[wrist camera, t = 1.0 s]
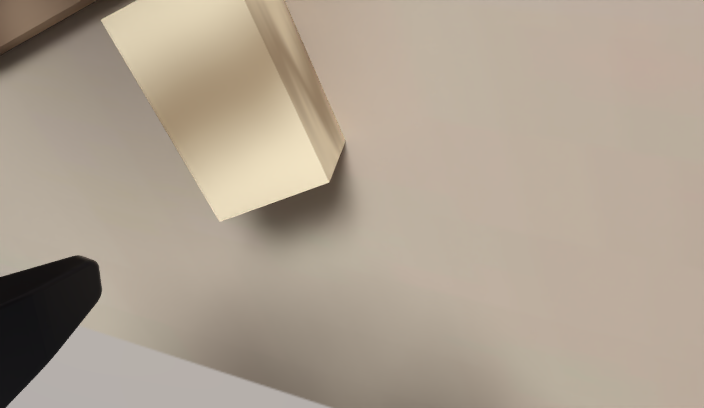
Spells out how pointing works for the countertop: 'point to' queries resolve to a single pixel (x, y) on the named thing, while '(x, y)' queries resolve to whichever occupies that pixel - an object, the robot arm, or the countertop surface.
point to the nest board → (32, 18)
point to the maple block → (232, 96)
